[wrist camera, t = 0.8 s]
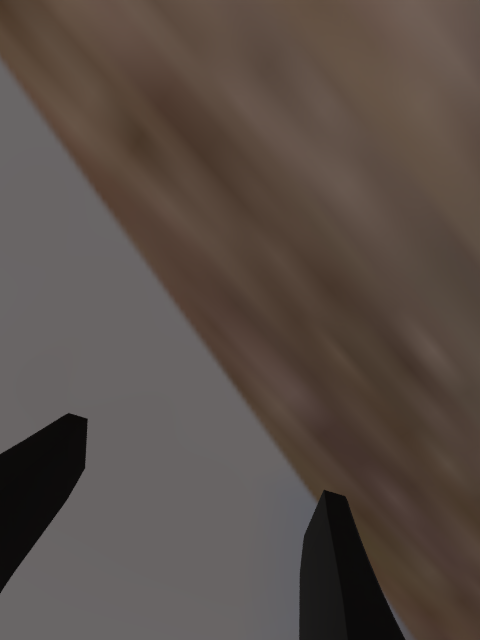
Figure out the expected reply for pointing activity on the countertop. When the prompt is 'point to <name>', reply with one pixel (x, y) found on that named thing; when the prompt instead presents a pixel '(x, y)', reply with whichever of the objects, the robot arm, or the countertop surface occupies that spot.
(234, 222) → the countertop surface
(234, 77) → the countertop surface
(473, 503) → the countertop surface
